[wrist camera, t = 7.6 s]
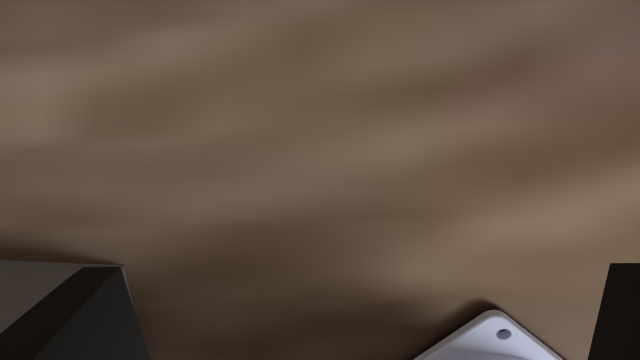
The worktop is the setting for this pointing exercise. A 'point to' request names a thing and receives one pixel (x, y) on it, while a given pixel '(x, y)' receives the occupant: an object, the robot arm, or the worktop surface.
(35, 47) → the worktop surface
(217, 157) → the worktop surface
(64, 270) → the charcoal plinth
